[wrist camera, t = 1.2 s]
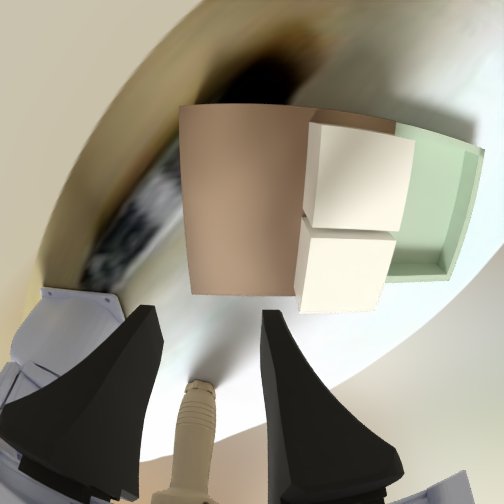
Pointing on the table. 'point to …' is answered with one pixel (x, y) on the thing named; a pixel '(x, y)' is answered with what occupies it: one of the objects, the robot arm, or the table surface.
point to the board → (248, 192)
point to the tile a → (341, 268)
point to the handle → (192, 448)
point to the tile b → (356, 178)
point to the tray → (435, 206)
